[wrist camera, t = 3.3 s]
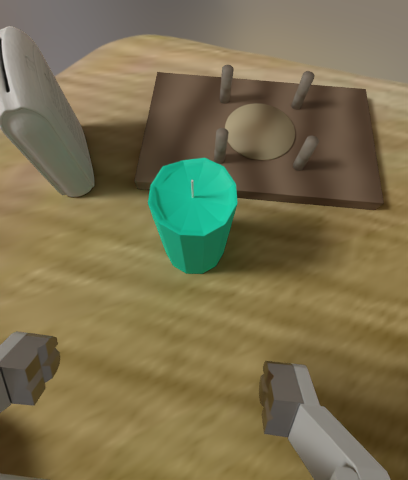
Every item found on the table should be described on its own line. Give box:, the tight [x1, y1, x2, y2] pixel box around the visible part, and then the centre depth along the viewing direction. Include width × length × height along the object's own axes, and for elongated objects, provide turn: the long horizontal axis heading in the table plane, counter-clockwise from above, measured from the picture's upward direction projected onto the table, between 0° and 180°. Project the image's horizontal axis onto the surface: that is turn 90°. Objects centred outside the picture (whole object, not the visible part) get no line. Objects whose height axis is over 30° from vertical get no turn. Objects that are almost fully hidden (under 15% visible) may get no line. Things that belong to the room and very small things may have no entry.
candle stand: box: [134, 65, 384, 210], centre depth 30 cm, size 26×16×6 cm, turn 85°
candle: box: [148, 158, 237, 274], centre depth 22 cm, size 6×6×12 cm
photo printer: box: [0, 26, 94, 197], centre depth 25 cm, size 10×4×12 cm, turn 19°
